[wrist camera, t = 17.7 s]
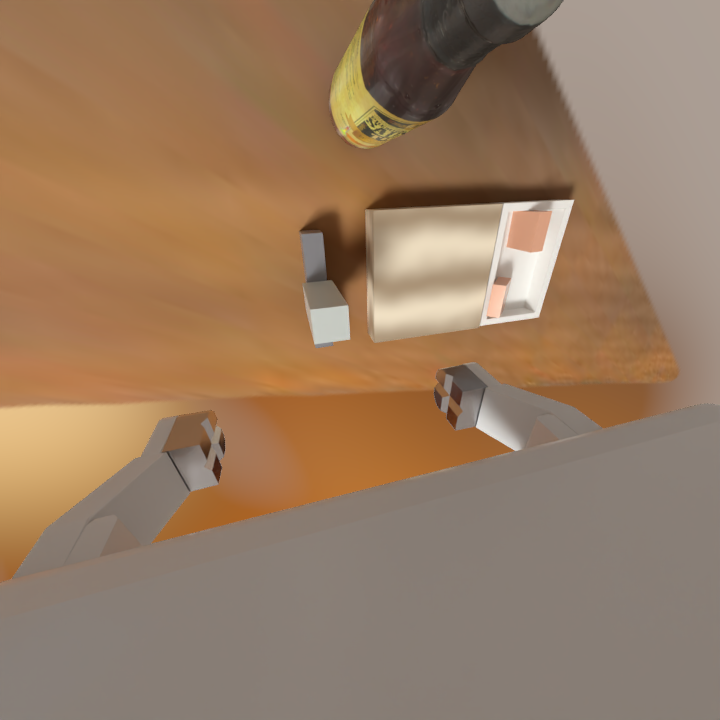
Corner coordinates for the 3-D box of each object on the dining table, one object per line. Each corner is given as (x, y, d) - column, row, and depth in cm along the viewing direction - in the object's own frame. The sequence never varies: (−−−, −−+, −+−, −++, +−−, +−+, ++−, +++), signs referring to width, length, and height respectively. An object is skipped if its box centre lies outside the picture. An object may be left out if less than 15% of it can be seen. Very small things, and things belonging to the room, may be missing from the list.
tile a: (540, 212, 30) (552, 210, 30) (513, 210, 33) (524, 209, 33) (530, 252, 32) (542, 251, 32) (506, 247, 35) (516, 246, 35)
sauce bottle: (339, 160, 27) (440, 102, 10) (316, 71, 23) (410, -238, 7) (403, 139, 27) (601, 49, 11) (389, 48, 24) (649, -293, 7)
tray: (489, 203, 32) (503, 203, 30) (555, 199, 34) (574, 199, 32) (469, 318, 39) (480, 325, 37) (525, 311, 41) (538, 317, 39)
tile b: (492, 284, 34) (506, 285, 33) (498, 276, 37) (511, 277, 36) (486, 316, 36) (499, 318, 35) (492, 306, 39) (504, 308, 38)
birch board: (365, 209, 29) (373, 210, 27) (485, 203, 32) (502, 203, 30) (367, 332, 36) (374, 342, 34) (465, 319, 39) (478, 327, 37)
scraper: (294, 231, 29) (301, 247, 20) (323, 229, 29) (344, 244, 20) (308, 337, 35) (320, 388, 26) (333, 334, 36) (352, 383, 26)
